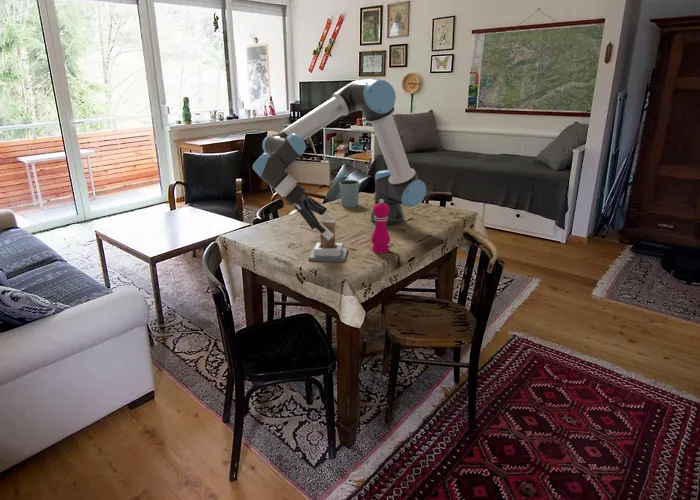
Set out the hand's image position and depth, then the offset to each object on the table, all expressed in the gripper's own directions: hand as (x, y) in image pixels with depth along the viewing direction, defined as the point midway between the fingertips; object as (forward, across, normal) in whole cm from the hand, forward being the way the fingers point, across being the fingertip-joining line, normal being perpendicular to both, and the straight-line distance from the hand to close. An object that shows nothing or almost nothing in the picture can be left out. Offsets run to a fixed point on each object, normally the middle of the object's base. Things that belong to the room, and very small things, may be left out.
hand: (333, 231), depth 169 cm
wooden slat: (+4, 0, -7) cm, 9 cm away
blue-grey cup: (+6, -72, -8) cm, 73 cm away
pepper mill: (+19, -7, +5) cm, 21 cm away
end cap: (+5, 0, -8) cm, 10 cm away
